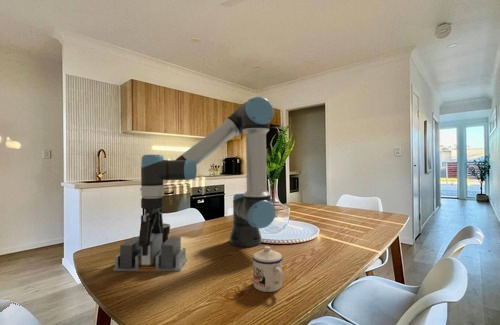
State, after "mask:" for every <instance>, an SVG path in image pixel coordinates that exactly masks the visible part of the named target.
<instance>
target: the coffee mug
mask: <svg viewBox="0 0 500 325" xmlns="http://www.w3.org/2000/svg"><path fill="white" fill-rule="evenodd" d="M163 229H164V232H162V233H164V235H162V244H163V243H164V242H165V241H166V240H167V239H169V238H170V232H171V231H170V230H171V223H165V222H163ZM152 233H154V229H153V228H152ZM152 233H151V234H152Z"/></svg>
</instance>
